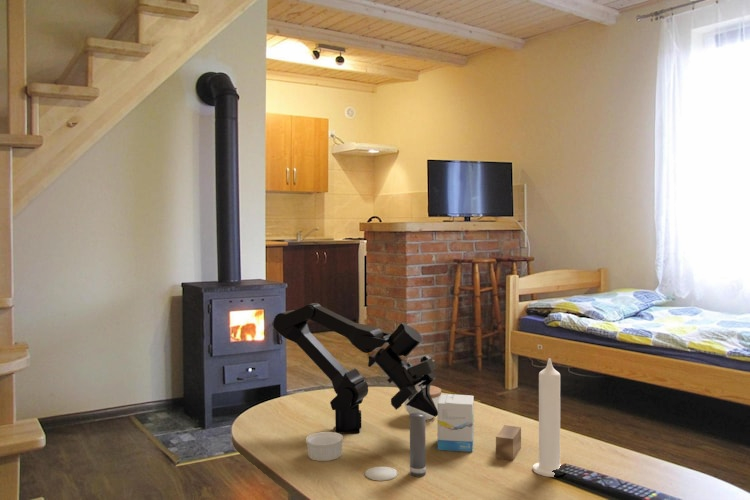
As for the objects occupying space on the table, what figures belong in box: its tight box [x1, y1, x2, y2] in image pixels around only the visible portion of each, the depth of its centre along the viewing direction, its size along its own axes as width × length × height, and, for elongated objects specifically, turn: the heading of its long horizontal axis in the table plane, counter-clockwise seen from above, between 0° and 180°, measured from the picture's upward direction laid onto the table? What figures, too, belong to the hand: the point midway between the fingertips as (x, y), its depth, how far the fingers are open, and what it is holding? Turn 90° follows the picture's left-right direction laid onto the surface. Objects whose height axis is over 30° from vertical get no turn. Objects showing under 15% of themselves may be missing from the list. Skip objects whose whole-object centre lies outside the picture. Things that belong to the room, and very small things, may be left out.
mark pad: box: [364, 466, 398, 482], centre depth 138 cm, size 7×7×1 cm
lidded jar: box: [403, 385, 442, 421], centre depth 178 cm, size 11×11×9 cm
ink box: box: [437, 393, 475, 453], centre depth 155 cm, size 8×8×12 cm
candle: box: [532, 357, 562, 478], centre depth 138 cm, size 7×7×25 cm
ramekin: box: [305, 431, 344, 462], centre depth 149 cm, size 9×9×4 cm
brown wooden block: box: [495, 425, 522, 461], centre depth 149 cm, size 4×9×5 cm, turn 156°
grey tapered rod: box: [409, 413, 427, 478], centre depth 137 cm, size 4×4×13 cm
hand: (437, 415), depth 157 cm, fingers closed
